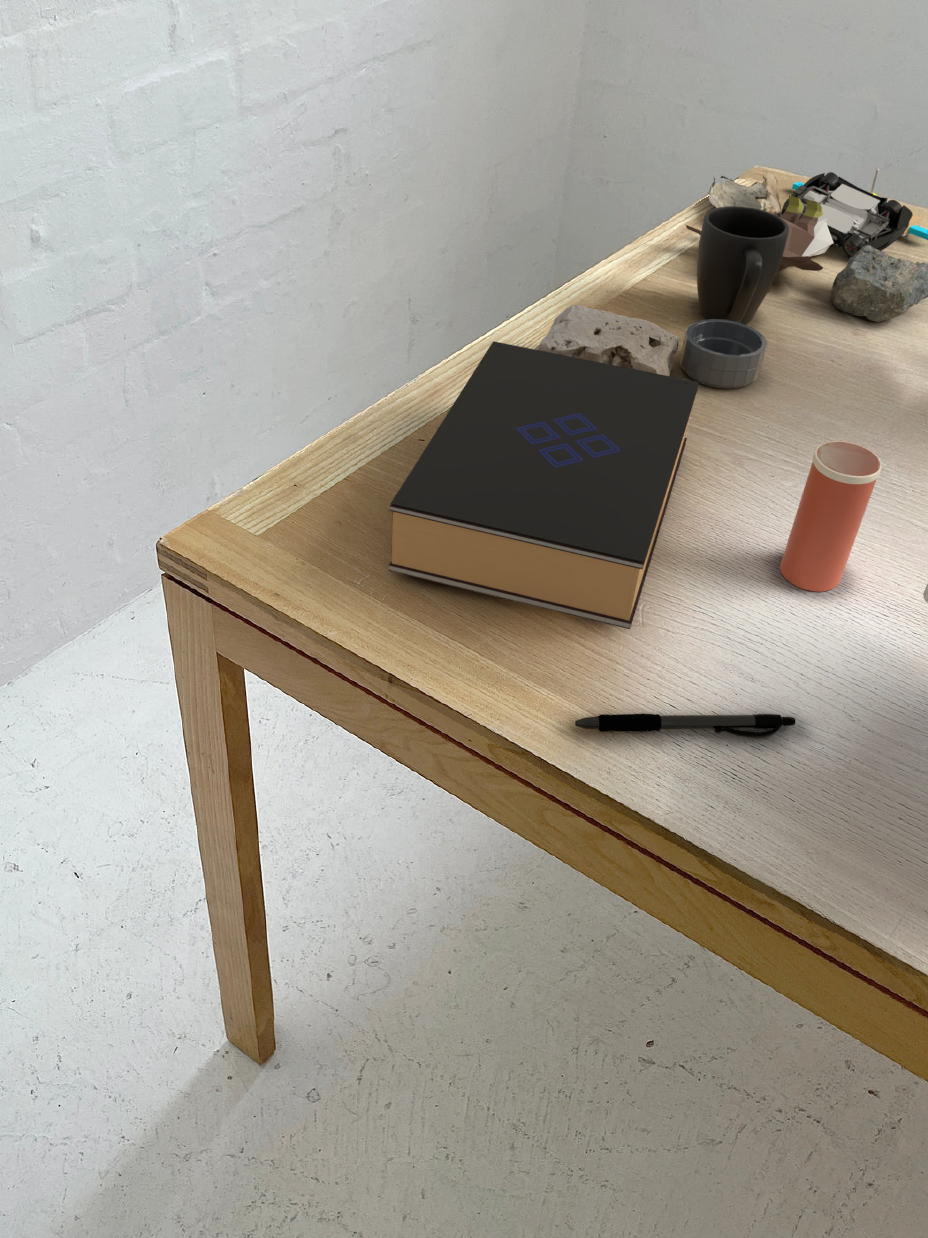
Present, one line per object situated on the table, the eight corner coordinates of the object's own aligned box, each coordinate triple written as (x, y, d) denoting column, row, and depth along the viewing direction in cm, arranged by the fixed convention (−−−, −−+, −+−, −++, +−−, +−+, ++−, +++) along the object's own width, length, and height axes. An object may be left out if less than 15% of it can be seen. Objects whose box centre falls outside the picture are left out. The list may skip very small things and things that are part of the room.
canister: (832, 555, 85) (872, 442, 79) (847, 594, 82) (889, 478, 75) (773, 552, 85) (808, 438, 79) (786, 590, 82) (823, 475, 75)
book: (387, 579, 80) (389, 502, 76) (486, 410, 98) (492, 340, 94) (628, 638, 77) (644, 561, 72) (684, 451, 95) (699, 381, 91)
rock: (872, 342, 114) (893, 297, 110) (805, 291, 119) (824, 247, 116) (952, 324, 119) (975, 281, 116) (886, 277, 125) (905, 234, 121)
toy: (885, 292, 122) (906, 228, 117) (762, 312, 116) (779, 246, 111) (796, 235, 132) (812, 174, 128) (680, 251, 127) (692, 188, 122)
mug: (689, 345, 110) (709, 250, 103) (683, 291, 119) (701, 201, 112) (774, 353, 109) (799, 259, 103) (762, 299, 118) (784, 209, 112)
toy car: (921, 211, 125) (920, 240, 129) (816, 164, 133) (817, 192, 137) (875, 253, 124) (875, 281, 128) (771, 203, 133) (774, 231, 136)
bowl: (750, 354, 109) (758, 321, 107) (765, 393, 103) (774, 359, 101) (674, 350, 109) (681, 316, 106) (684, 389, 103) (692, 354, 101)
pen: (801, 731, 70) (795, 741, 71) (795, 708, 71) (789, 718, 72) (579, 734, 68) (576, 743, 69) (575, 710, 69) (573, 720, 70)
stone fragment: (690, 240, 130) (705, 277, 132) (760, 216, 125) (775, 255, 128) (717, 163, 142) (731, 199, 144) (782, 139, 137) (795, 176, 140)
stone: (682, 407, 100) (674, 357, 108) (688, 345, 96) (679, 299, 104) (533, 406, 101) (535, 358, 109) (533, 346, 97) (535, 300, 105)
